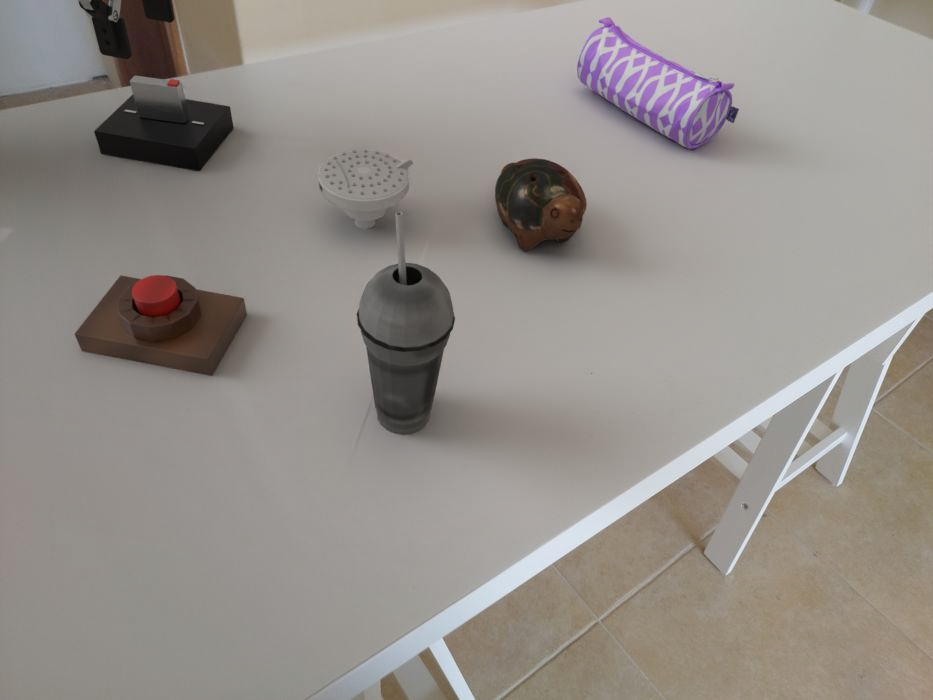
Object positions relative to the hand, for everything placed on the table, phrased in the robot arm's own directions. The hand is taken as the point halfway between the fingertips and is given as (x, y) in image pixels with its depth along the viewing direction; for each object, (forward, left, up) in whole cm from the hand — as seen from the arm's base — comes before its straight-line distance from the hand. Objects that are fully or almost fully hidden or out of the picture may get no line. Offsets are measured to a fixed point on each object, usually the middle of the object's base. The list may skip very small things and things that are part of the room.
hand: (139, 37), depth 79 cm
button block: (+14, -30, -13) cm, 35 cm away
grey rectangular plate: (0, 0, -10) cm, 10 cm away
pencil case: (+57, +26, -13) cm, 64 cm away
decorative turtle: (+45, -5, -13) cm, 47 cm away
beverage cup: (+37, -34, -13) cm, 52 cm away
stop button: (+14, -30, -9) cm, 34 cm away
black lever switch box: (0, 0, -13) cm, 13 cm away
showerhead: (+27, -9, -13) cm, 32 cm away
